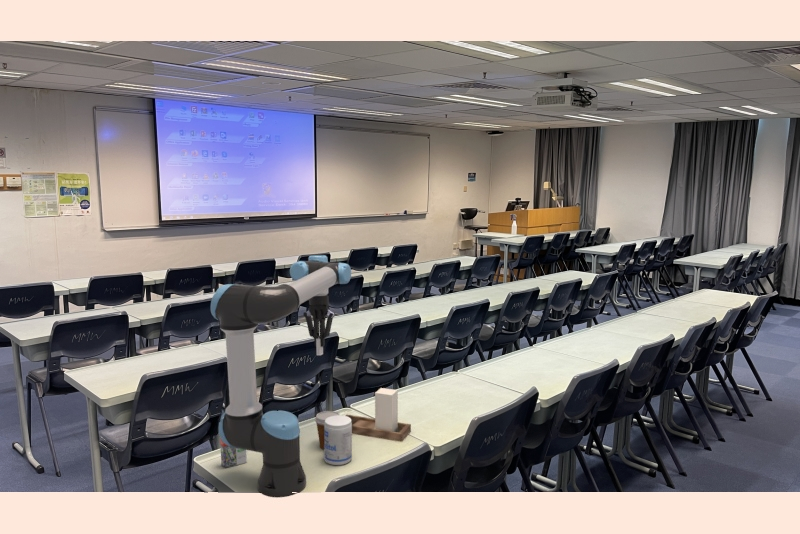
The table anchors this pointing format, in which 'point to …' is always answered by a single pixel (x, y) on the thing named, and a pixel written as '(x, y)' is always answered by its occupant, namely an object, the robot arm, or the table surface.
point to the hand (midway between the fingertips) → (319, 354)
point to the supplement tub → (338, 440)
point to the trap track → (368, 429)
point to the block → (386, 409)
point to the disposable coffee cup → (321, 422)
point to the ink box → (232, 455)
